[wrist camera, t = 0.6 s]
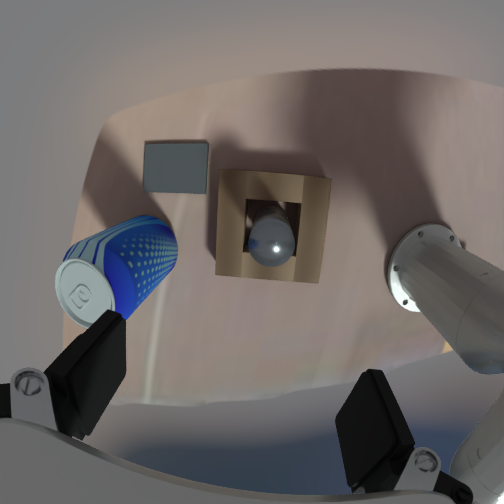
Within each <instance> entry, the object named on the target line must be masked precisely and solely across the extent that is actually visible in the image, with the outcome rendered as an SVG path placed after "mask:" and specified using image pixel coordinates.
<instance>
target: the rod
mask: <svg viewBox="0 0 504 504" xmlns="http://www.w3.org/2000/svg"><path fill="white" fill-rule="evenodd" d="M248 248H249V252H250V254H251V256H252V257H253V259H254V260H255V261H256V262H258V263H259V264H261V265H263V266H267V267H276V266H280V265H282V264H284V263H285V262H287V261H288V260H289V259H290V258H291V256H292V254H293V252H294V248H295V240H294V236H293V233H292V230H291V227H290V224H289V221H288V218H287V215H286V214H285V212H284V211H283V210H281V209H280V208H278V207H274V206H269V207H265V208H263V209H262V210H260V211H259V212H258V214H257V215H256V218H255V221H254V224H253V227H252V230H251V233H250V236H249V240H248Z"/></svg>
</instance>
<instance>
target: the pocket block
mask: <svg viewBox="0 0 504 504" xmlns="http://www.w3.org/2000/svg"><path fill="white" fill-rule="evenodd" d="M330 189H331V178H325V177H316V176H307V175H297V174H286V173H274V172H261V171H246V170H227V169H220V171H219V190H218V211H217V236H216V269H215V275H221V276H232V277H244V278H255V279H267V280H280V281H293V282H306V283H319V277H320V271H321V264H322V257H323V250H324V242H325V234H326V226H327V218H328V209H329V199H330ZM248 199H258V200H271V201H283V202H294V203H299V206H298V217H297V227H296V236H295V248H294V252H293V254H292V256H291V258H290V259H289V260H288V261H287V262H285V263H284V264H282V265H280V266H276V267H267V266H263V265H261V264H259V263H258V262H256V261H255V260H254V259H253V257H252V256H251V254H250V252H249V248H248V246H247V245H245V235H246V219H247V204H248Z"/></svg>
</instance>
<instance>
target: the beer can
mask: <svg viewBox="0 0 504 504" xmlns="http://www.w3.org/2000/svg"><path fill="white" fill-rule="evenodd" d="M177 257H178V245H177V241H176V238H175V236H174V234H173V232H172V230H171V229H170V228H169V226H168V225H167V224H166V223H164V222H163V221H162V220H160V219H158V218H156V217H153V216H148V215H142V216H137V217H135V218H132V219H130V220H127V221H125V222H123V223H120V224H118V225H116V226H113V227H111V228H109V229H106V230H104V231H102V232H99V233H97V234H95V235H93V236H90V237H88V238H86V239H84V240H82V241H79V242H77V243H76V244H74V245H73V246H72V247H71V248H70V249H69V250H68V251H67V253H66V255H65V257H64V259H63V262H62V263H61V264H60V266H59V267H58V269H57V272H56V275H55V289H56V294H57V297H58V300H59V302H60V304H61V306H62V308H63V309H64V311H65V312H66V313H67V315H68V316H69V317H70V318H71V319H72V320H73V321H75V322H76V323H77V324H79V325H81V326H83V327H85V328H89V327H90V326H91V325H92V324H93V323H94V322H95V321H96V320H97V319H98V318H99V317H100V316H101V315H102V314H103V313H104V312H105V311H106V310H107V309H109V310H112V311H115V312H118V313H121V314H122V318H124V319H125V320H127V319H128V318H129V317H130V315H131V314H132V313H133V312H134V311H135V310H136V309H137V307H138V306H139V305H140V304H141V303H142V302H143V301H144V300H145V299H146V297H147V296H148V295H149V294H150V293H151V292H152V291H153V290H154V289H155V288H156V286H157V285H158V284H159V283H160V282H161V281H162V280H163V279H164V278H165V277H166V276H167V275H168V273H169V272H170V271H171V270H172V269H173V267H174V266H175V263H176V261H177Z"/></svg>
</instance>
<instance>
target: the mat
mask: <svg viewBox="0 0 504 504" xmlns="http://www.w3.org/2000/svg"><path fill="white" fill-rule="evenodd" d="M208 151H209V144H207V143H174V144H145V159H144V192H164V193H193V194H206V188H207V168H208Z"/></svg>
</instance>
